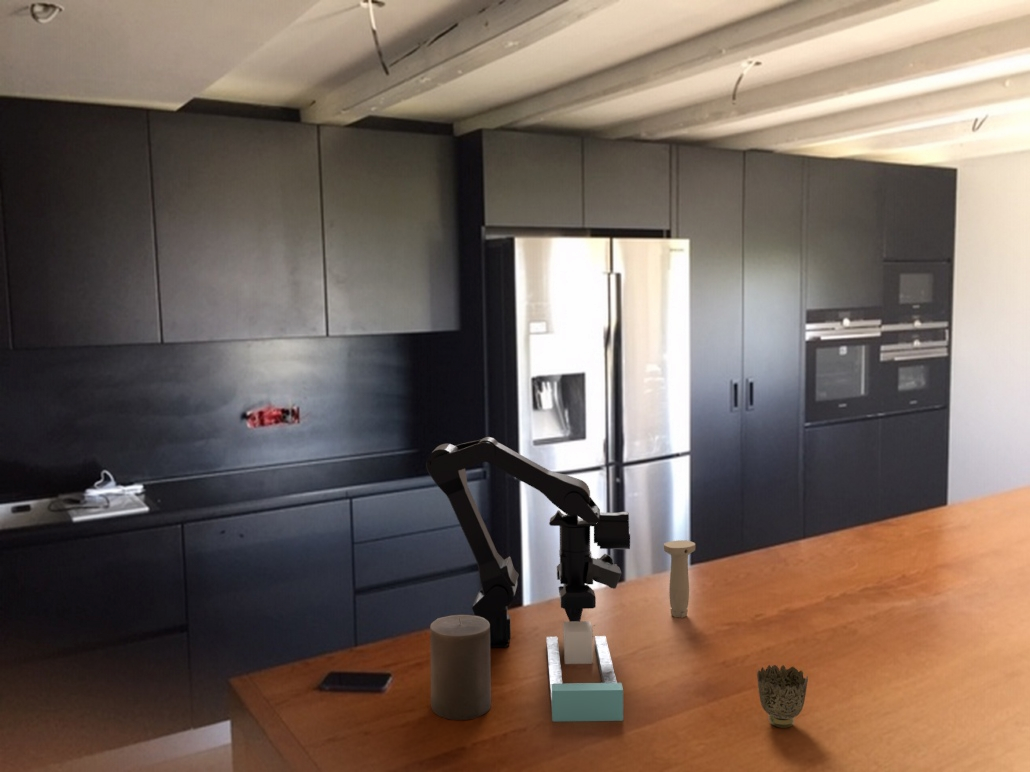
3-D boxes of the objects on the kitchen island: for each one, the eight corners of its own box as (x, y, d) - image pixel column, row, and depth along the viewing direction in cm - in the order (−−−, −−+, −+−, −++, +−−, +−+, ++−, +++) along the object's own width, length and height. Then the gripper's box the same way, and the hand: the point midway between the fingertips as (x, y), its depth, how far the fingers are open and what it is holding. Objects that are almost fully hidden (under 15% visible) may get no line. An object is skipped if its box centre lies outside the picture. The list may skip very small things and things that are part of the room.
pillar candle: (468, 726, 137) (467, 632, 135) (418, 710, 142) (417, 620, 140) (502, 701, 145) (502, 613, 143) (454, 687, 150) (453, 602, 149)
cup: (749, 713, 140) (750, 665, 139) (794, 711, 140) (795, 662, 139) (766, 737, 132) (767, 686, 131) (814, 734, 133) (815, 683, 132)
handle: (699, 617, 180) (699, 545, 178) (671, 622, 178) (672, 549, 176) (685, 609, 184) (686, 539, 183) (659, 613, 182) (659, 542, 180)
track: (552, 721, 138) (552, 690, 137) (546, 646, 166) (546, 621, 166) (623, 720, 138) (623, 689, 137) (605, 646, 166) (605, 620, 166)
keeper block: (564, 664, 159) (564, 632, 158) (563, 652, 164) (563, 621, 163) (592, 664, 159) (592, 631, 158) (590, 652, 164) (590, 621, 163)
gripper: (624, 562, 156) (623, 647, 158) (612, 533, 175) (612, 609, 177) (560, 563, 156) (561, 648, 158) (556, 534, 175) (556, 610, 177)
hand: (575, 628), depth 167 cm, fingers closed
